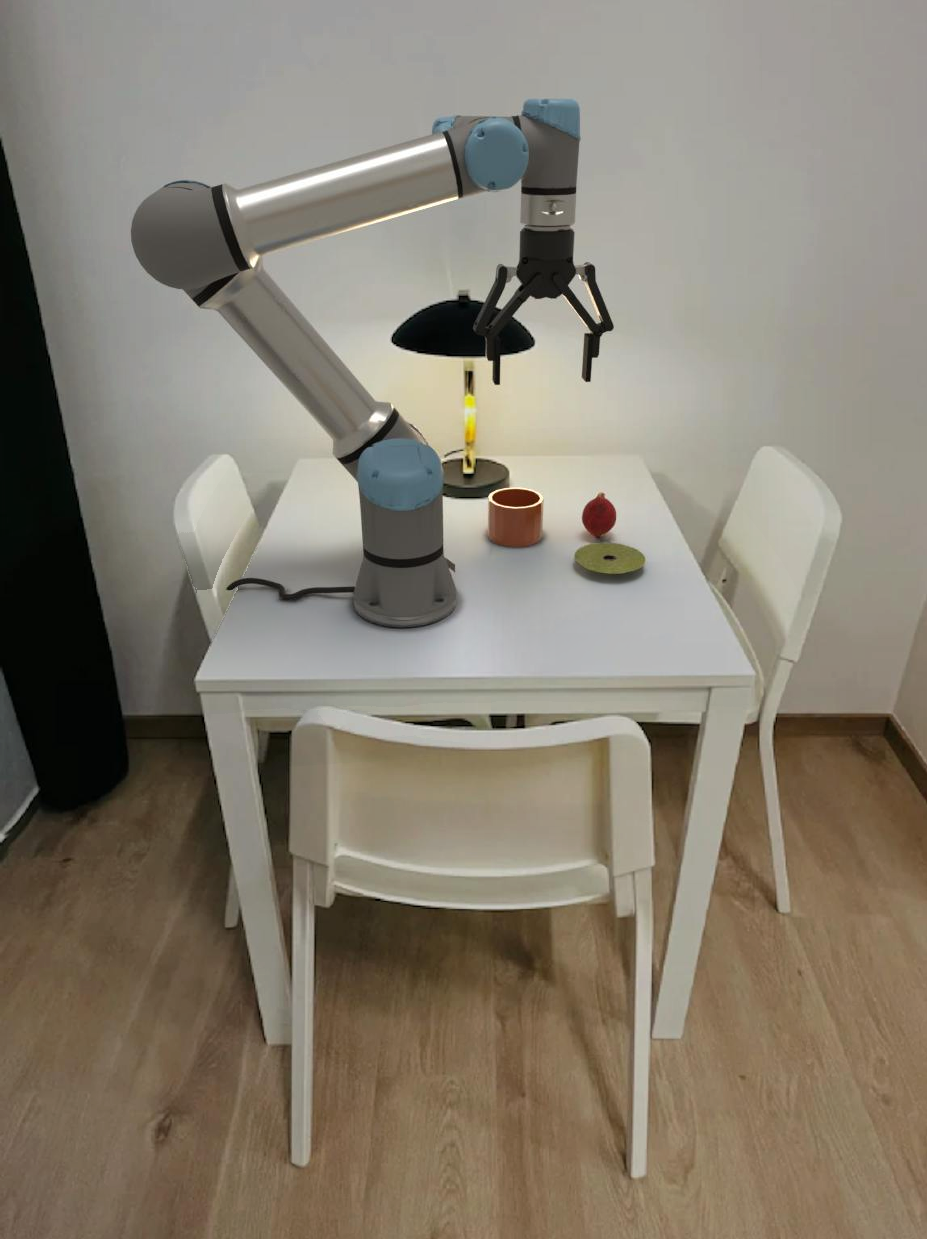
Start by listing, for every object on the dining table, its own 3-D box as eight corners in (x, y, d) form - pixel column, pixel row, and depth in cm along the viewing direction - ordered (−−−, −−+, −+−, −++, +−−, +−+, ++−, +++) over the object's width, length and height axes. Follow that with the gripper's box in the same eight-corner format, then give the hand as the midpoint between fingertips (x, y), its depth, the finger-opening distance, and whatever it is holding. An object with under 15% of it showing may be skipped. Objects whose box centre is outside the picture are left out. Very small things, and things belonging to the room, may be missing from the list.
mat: (640, 587, 140) (641, 576, 139) (567, 579, 143) (568, 567, 142) (647, 557, 150) (649, 546, 149) (579, 549, 152) (580, 538, 151)
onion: (613, 545, 154) (617, 500, 150) (579, 542, 155) (582, 498, 151) (615, 531, 159) (619, 488, 155) (582, 528, 160) (585, 485, 156)
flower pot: (491, 548, 153) (492, 509, 149) (484, 526, 161) (485, 488, 157) (546, 545, 154) (547, 507, 150) (536, 523, 162) (537, 486, 158)
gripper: (460, 232, 121) (460, 390, 132) (643, 229, 124) (629, 385, 134) (454, 225, 128) (455, 377, 138) (628, 222, 130) (616, 371, 141)
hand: (541, 381), depth 136 cm, fingers open, 13 cm apart
